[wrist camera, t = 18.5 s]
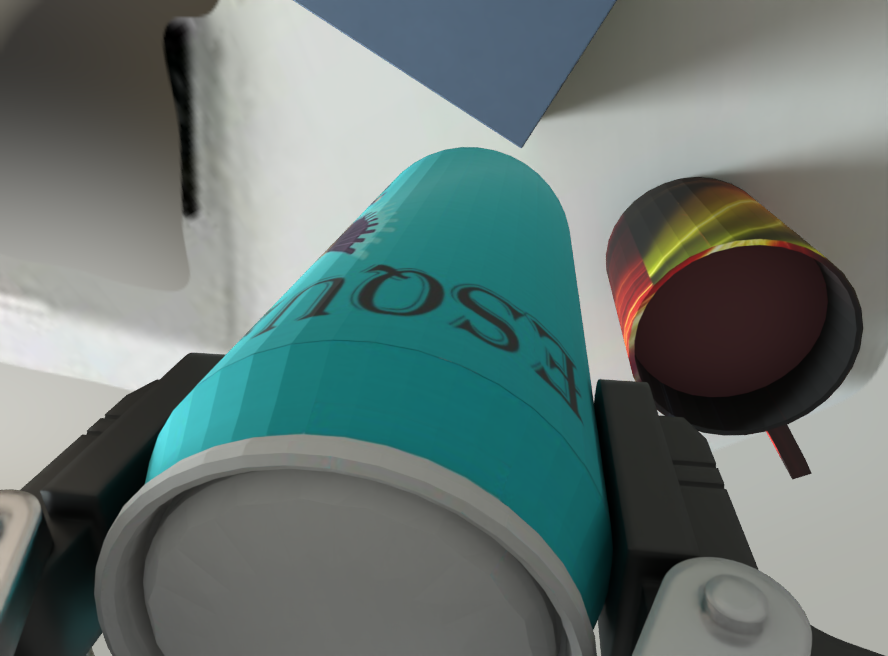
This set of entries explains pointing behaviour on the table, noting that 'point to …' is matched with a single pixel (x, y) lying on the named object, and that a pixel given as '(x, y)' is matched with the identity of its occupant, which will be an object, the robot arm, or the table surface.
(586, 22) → the box lid
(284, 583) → the beverage can
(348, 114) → the table surface
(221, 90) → the table surface
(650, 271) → the mug
